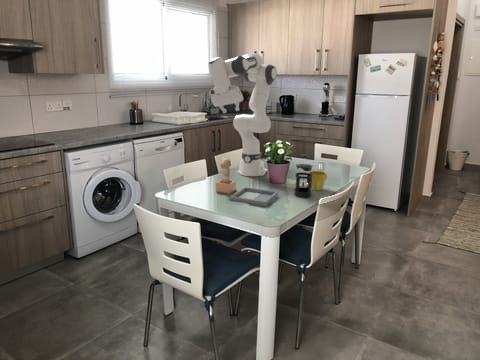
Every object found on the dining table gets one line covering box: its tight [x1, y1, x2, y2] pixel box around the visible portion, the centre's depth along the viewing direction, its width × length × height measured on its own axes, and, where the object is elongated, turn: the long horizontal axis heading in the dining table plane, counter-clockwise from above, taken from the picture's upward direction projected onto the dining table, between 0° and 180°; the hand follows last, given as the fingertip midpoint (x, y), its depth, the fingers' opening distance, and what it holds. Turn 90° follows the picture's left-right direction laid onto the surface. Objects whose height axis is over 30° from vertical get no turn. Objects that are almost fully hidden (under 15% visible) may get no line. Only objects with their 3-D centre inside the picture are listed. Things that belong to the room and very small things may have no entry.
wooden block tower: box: [221, 158, 231, 184], centre depth 221 cm, size 4×4×18 cm
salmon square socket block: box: [215, 178, 237, 194], centre depth 223 cm, size 8×8×6 cm
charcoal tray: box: [229, 186, 279, 207], centre depth 213 cm, size 20×20×2 cm
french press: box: [293, 153, 314, 199], centre depth 217 cm, size 12×9×23 cm
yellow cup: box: [308, 170, 328, 191], centre depth 232 cm, size 10×10×10 cm
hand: (231, 111), depth 223 cm, fingers open, 8 cm apart
